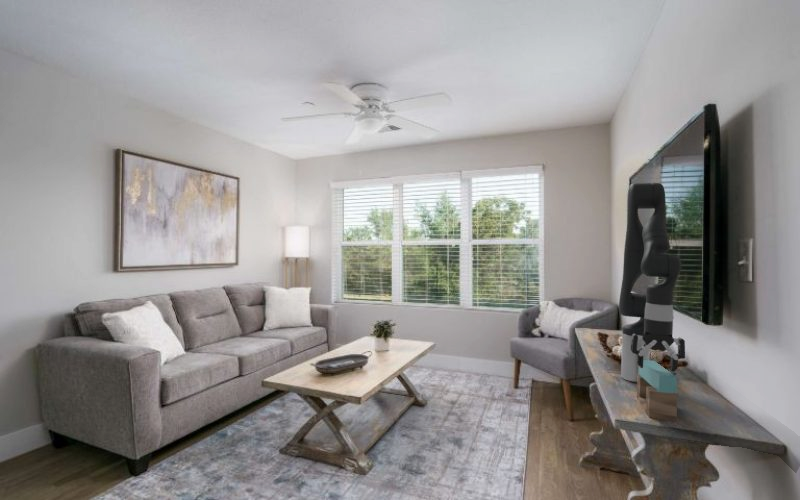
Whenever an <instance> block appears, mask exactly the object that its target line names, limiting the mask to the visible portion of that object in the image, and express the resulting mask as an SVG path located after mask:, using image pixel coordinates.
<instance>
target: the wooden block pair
mask: <svg viewBox="0 0 800 500" xmlns="http://www.w3.org/2000/svg"><path fill="white" fill-rule="evenodd" d="M636 398H637V400H638V402H639V403H640V405H641V407H642V408H643V411H644V412H645V413H646V415H647V416H648V418H653V419H657V420H658V419H659V420H664V419H665V421H670V420H672V422H677V420H678V419H677V418H678V417H677V415H678V393H677V394H673V393H663V392H658V391H657V390H656V389H655V388H654V387H653V386H651V385H650V384H649V383H648V382H647V381H646V380H645V379H643V378H642V377H641V376H640V375H639V374H637V382H636Z"/></svg>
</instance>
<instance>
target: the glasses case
mask: <svg viewBox="0 0 800 500" xmlns="http://www.w3.org/2000/svg"><path fill="white" fill-rule="evenodd" d="M638 374H639V375H640V376H641V377H642V378H643V379H645V380H646V381H647V382H648V383H649V384H650V385H651V386H653V387H654V388H655V389H656V390H657V391H658V392H663V393H673V394H677V395H678V393H677V391H678V389H677V388H678V376H676V375H674V374H672V373H671V372H670V371H668V370H667V369H665V368H664V367H663V366H661V365H660V364H658V363H657V361H656V360H651V359H649V360H643V368H640V367H639V372H638Z"/></svg>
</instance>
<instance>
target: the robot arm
mask: <svg viewBox="0 0 800 500" xmlns="http://www.w3.org/2000/svg"><path fill="white" fill-rule="evenodd" d="M665 191H666V190H665V187H664V185H663V184H662V183H660V182H637V183H636V182H634V183H631V184H630V185H629V187H628V190H627V201H626V202H627V204H626V205H627V207H626V217H627V218H626V219H627V220H626V230H625V231H626V234H625V242H624V249H623V250H624V252H623V266H622V267H623V268H622V269H623V271H622V272H623V273H622V281H621V287H620V293H619V302H618V310H619V311H618V312H619V314H620V315H621V316H623V317H628V318H629V317H630V318H631V317H632V318H639V320H637V321H635V322H633V323H629V324H625V325H623V327H622V331H621V332H622V334H621V335H622V337H621V361H620V362H621V365H620V378H621V379H623V380H625V381H628V382H633V383H637V374H638V372H639V367H640V368H643V360H650V350H652V351H660V352H665V351H666V352H667V353H668V354H669V356H670V357H671V358H670V362H669V363H670V367H669V368H670V370H671V371H673V372H675V373H676V371H677V370H678V360H681V359H685V358H686V343H685V342H686V341H685V339H683V338H682V337H677V338H675V337H673V329H674V328H673V327H674V308H673V307H674V306H673V305H674V303H673V302H674V290H675V286H676V283H677V280H678V278H679V275H680V273H681V270H682V261H681V260H680V258H679V257H678V256H677V255H674V254H667V253H668V252H669V251H670V249H671V243H670V240H669V235H668V230H667V222H666V221H667V208H666V207H667V206H666V205H667V204H666V192H665ZM640 209H642V210H644V209H645V210H647V209H649V210H651V209H654V211H653V214H652V215H651V217H650V218H649V219H648V220H647V221H646V223H645V224H644V225H643V224H642V222H641V220H640V216H639V210H640ZM643 274H644V275H645V276H647V277H651V278H652V277H653V278H654V277H655V278H657V277H658V278H664V279H663V281H662V282H659V283H654V284H649V285H648V286H647V287H646V289H645V290H646V292H645V293H642V292H641V293H640V292H639V293H637V292H632V291H633V287H634V285H635V284H636V283H637V281H638V279H639V278H640V277H641V276H642V275H643ZM674 343H675V345H676V346H677V353H675V351H674V350H673V349H672V347H671V346H672V345H673V344H674Z"/></svg>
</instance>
